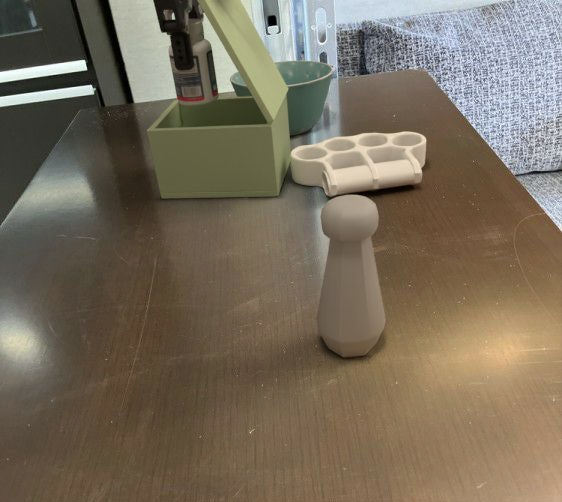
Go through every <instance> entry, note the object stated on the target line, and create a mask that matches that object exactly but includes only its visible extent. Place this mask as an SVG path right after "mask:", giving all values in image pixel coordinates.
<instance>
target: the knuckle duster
mask: <svg viewBox="0 0 562 502" xmlns="http://www.w3.org/2000/svg"><path fill="white" fill-rule="evenodd" d="M426 152H427V138H426V136H425V135H423V134H422V133H418V132H415V131H400V132H393V133H384V132H383V133H381V132H362V133H360V134H359V133H358V134H356V135H350V136H349V135H348V136H335V137H332V138H331V137H330V138H327V139H325V140H323V141H320V142H317V143H313V144H306V145H305V144H304V145H303V144H302V145H299V146H297V147H295V148H293V149H292V150H291V154H290V159H291V161H290V171H291V172H290V173H291V179H292V181H293V182H294V183H295V184H298V185H301V186H305V187H307V186H309V187H320V188H322V189H323V191H324V193H325V195H326V196H327V197H330V198H334V197H336V196H337V195H347V194H353V193H361V192H367V191H368V192H369V191H370V192H374V191H377V190H381V189H389V188H390V189H391V188H396V187H402V186H403V187H404V186H417V185H418V184H421V183H422V182H423V170H422V169H423V168H424V166H425V164H426V154H427V153H426Z"/></svg>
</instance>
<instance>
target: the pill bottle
mask: <svg viewBox="0 0 562 502" xmlns="http://www.w3.org/2000/svg"><path fill="white" fill-rule="evenodd" d="M189 34H190V39H191V45H192V52H193V58H194V67H193V68H192V69H191V70H181V71H179V70H177V69H176V68H175V63H174V57H173V52H172V46H171V44H169V47H168V57H169V62H170V68H171V72H172V78H173V83H174V89H175V94H176V100H178V103H179V104H181V105H184V106H200V105H205V104H208V103H211V102H214V101H215V100H217V99H218V98H219V88H218V81H217V73H216V66H215V59H214V53H213V47H212V44H211V42H210V41H209V39H206V38H205V37H204V38H203V34H204V35H205V29H204V23H203V22H202V20H201V19H189Z"/></svg>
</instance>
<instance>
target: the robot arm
mask: <svg viewBox="0 0 562 502" xmlns="http://www.w3.org/2000/svg"><path fill="white" fill-rule="evenodd" d="M152 1H153V2H152V3H153V5H154V10H155V13H156V17H157V22H158V26H159V29H160V32H161V34H166V35H167V36H169V39H170V40H169V41H170V45H171V46H172V52H173V57H174V63H175V68H176V69H177V70H179V71H181V70H191V69H192V68H193V67H194V58H193V52H192V45H191V39H190V34H189V19H201V20H202V23H203V22H204V18H205V13H204V11H203V10H202V8H201V6H200V4H199V3H198V1H197V0H152ZM173 15H174V16H173ZM173 17H174V19H173ZM203 38H204V39H205V33H204V34H203Z"/></svg>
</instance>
